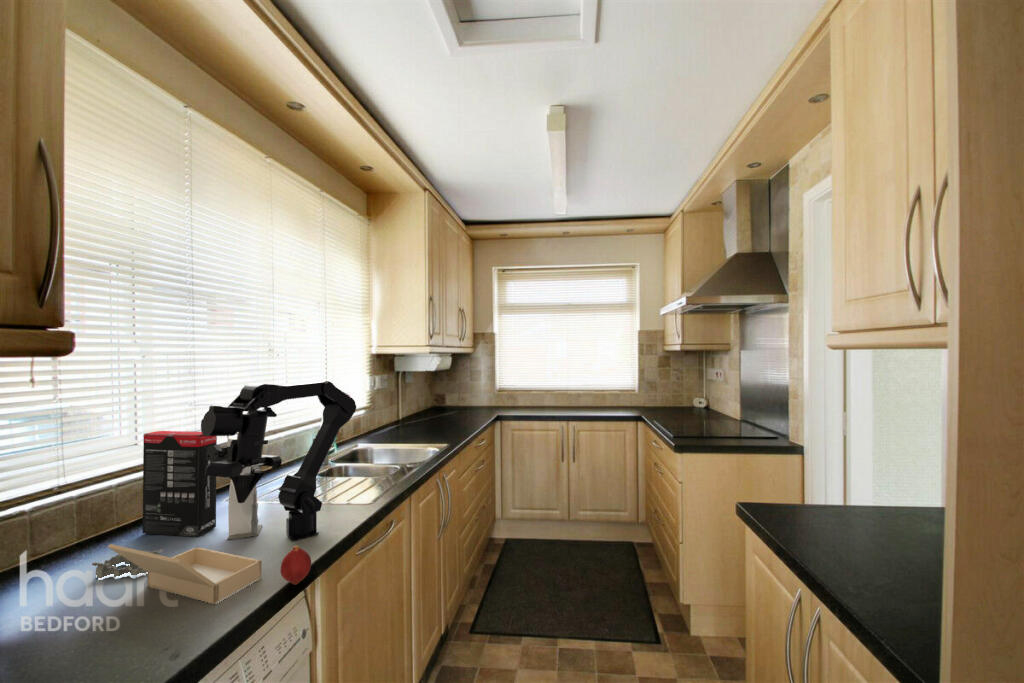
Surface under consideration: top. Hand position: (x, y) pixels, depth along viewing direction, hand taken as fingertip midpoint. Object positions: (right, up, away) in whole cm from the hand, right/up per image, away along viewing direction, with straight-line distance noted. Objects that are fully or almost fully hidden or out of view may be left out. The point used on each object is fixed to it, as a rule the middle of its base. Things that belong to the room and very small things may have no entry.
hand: (241, 502), depth 102 cm
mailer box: (-1, -13, -11) cm, 17 cm away
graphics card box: (-27, -14, +16) cm, 34 cm away
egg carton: (-21, -14, -6) cm, 26 cm away
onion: (+19, -13, -11) cm, 25 cm away
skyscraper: (-9, -14, +15) cm, 22 cm away
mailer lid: (-4, -5, -18) cm, 19 cm away
